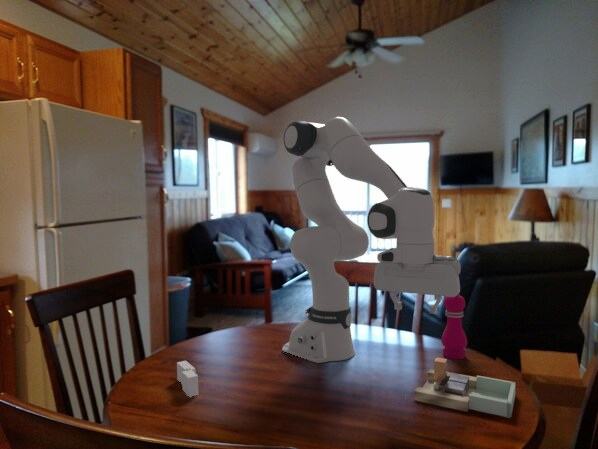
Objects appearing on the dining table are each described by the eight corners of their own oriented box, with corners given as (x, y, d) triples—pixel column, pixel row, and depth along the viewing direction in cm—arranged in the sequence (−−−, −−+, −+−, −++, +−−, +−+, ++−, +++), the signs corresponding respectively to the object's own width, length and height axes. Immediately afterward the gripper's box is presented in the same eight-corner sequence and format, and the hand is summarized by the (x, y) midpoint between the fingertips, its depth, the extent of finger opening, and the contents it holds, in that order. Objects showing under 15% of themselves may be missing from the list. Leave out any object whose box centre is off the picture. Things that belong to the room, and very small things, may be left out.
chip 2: (444, 399, 99) (444, 386, 99) (448, 392, 102) (448, 380, 102) (462, 403, 97) (462, 390, 97) (465, 396, 100) (466, 383, 100)
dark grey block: (448, 391, 103) (448, 379, 103) (451, 385, 106) (452, 373, 106) (466, 395, 101) (466, 382, 101) (469, 388, 104) (469, 376, 104)
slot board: (414, 404, 99) (414, 391, 99) (430, 379, 112) (430, 368, 112) (467, 416, 94) (467, 402, 93) (478, 389, 106) (478, 377, 106)
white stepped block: (174, 377, 117) (173, 357, 117) (215, 378, 116) (215, 357, 116) (152, 404, 102) (151, 380, 102) (199, 405, 102) (199, 381, 101)
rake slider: (430, 395, 100) (430, 365, 100) (439, 381, 108) (439, 353, 108) (441, 397, 99) (441, 367, 99) (449, 383, 107) (449, 354, 106)
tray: (468, 413, 95) (468, 395, 95) (477, 391, 105) (477, 375, 105) (510, 422, 91) (511, 403, 90) (515, 399, 101) (515, 382, 101)
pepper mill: (469, 361, 125) (469, 292, 123) (442, 359, 126) (443, 291, 125) (464, 352, 132) (465, 286, 130) (439, 350, 133) (440, 286, 132)
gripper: (463, 255, 103) (462, 313, 103) (379, 251, 113) (380, 304, 113) (458, 258, 97) (458, 319, 98) (371, 254, 107) (371, 309, 108)
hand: (415, 311), depth 106 cm, fingers open, 7 cm apart
